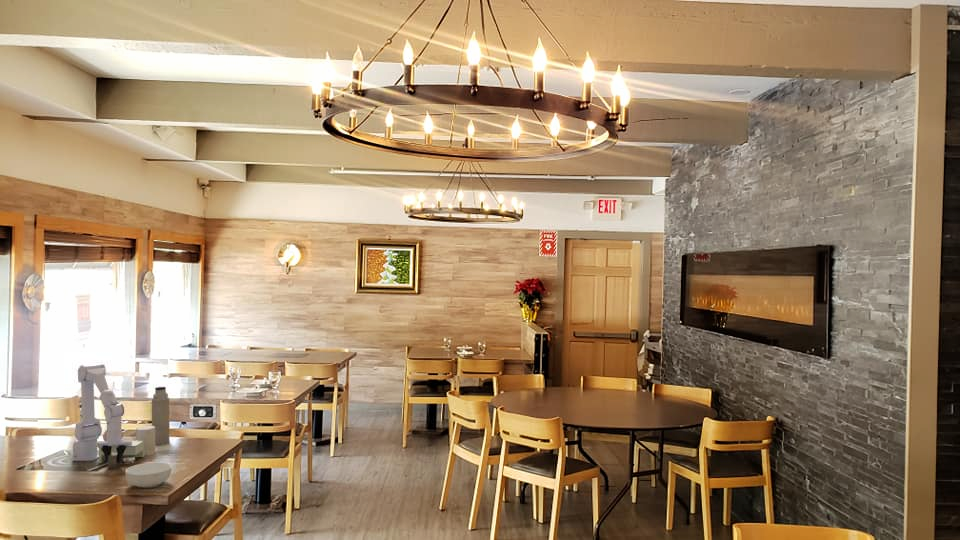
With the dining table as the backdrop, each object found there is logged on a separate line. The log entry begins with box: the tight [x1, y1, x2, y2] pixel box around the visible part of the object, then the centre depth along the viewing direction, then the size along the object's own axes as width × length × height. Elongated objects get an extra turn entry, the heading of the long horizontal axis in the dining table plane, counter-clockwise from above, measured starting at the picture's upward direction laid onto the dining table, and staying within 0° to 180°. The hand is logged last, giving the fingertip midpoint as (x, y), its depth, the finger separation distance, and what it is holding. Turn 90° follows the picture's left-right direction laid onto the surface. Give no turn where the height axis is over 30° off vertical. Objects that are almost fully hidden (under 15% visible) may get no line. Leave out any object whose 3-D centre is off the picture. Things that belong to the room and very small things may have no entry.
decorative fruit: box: [102, 429, 124, 441], centre depth 346 cm, size 9×8×10 cm
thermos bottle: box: [151, 386, 170, 446], centre depth 352 cm, size 8×8×28 cm
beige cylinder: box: [135, 425, 156, 456], centre depth 334 cm, size 8×8×12 cm
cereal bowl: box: [124, 461, 173, 488], centre depth 286 cm, size 17×17×7 cm
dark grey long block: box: [107, 453, 124, 470], centre depth 315 cm, size 4×16×6 cm, turn 11°
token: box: [122, 456, 136, 464], centre depth 318 cm, size 5×5×2 cm
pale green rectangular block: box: [97, 440, 145, 464], centre depth 322 cm, size 17×10×8 cm, turn 93°
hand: (114, 462), depth 310 cm, fingers closed on dark grey long block, 4 cm apart
